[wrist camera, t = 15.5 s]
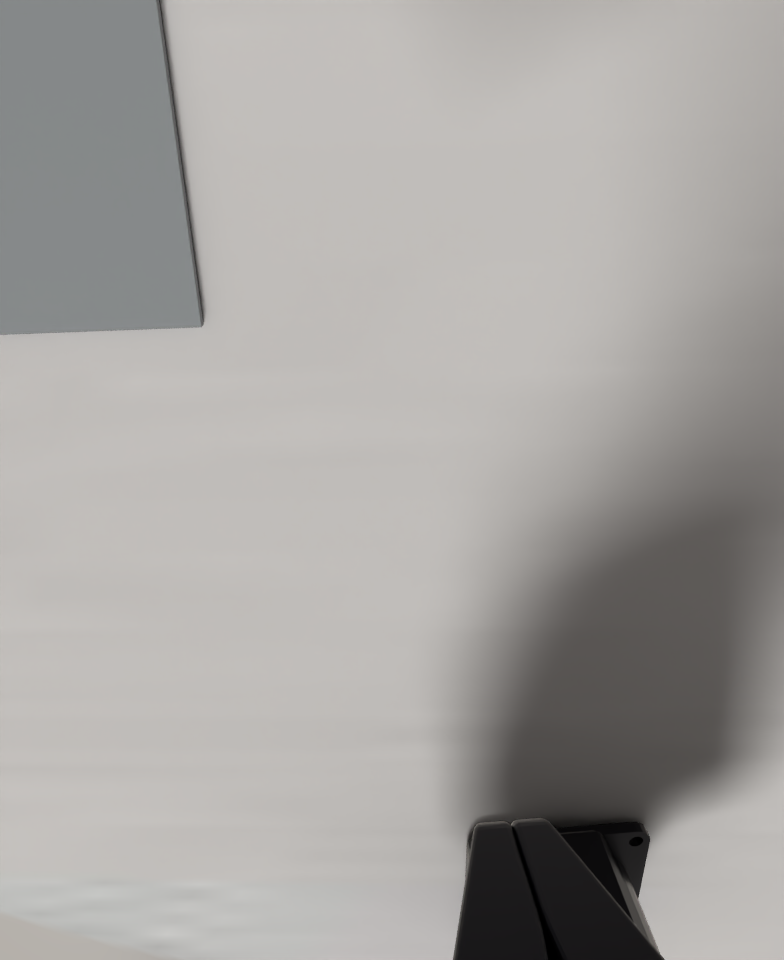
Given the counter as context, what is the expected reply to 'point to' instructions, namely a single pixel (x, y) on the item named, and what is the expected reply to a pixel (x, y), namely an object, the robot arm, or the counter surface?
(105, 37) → the mat
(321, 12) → the counter surface
